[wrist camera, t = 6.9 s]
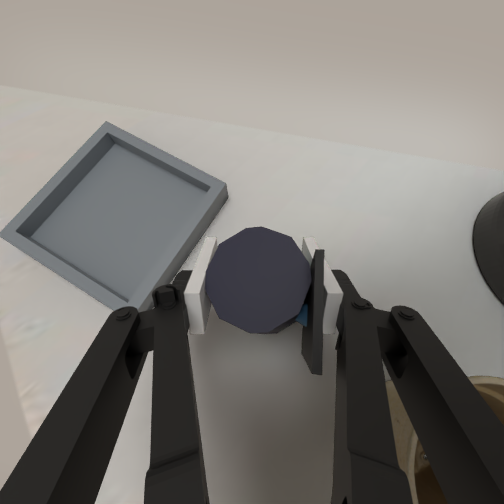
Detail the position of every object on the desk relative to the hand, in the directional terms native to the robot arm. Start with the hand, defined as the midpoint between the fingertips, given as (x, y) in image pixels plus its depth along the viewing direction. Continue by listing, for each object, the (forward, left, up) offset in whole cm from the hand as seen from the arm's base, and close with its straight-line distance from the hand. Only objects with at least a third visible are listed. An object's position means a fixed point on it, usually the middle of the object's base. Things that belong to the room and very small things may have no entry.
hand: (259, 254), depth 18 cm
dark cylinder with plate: (-2, +3, -4) cm, 5 cm away
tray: (+13, +2, -5) cm, 14 cm away
